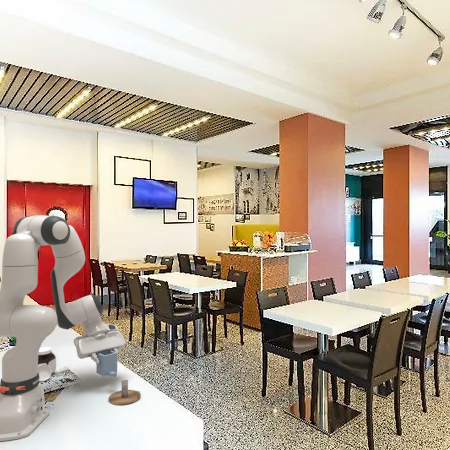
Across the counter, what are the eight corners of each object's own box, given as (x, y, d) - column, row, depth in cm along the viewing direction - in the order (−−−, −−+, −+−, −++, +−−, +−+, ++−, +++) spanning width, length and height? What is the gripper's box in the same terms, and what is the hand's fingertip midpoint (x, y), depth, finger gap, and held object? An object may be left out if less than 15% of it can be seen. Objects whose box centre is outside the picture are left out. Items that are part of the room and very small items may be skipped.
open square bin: (96, 372, 156) (96, 353, 156) (109, 369, 161) (109, 349, 161) (107, 378, 150) (107, 358, 150) (121, 374, 154) (121, 354, 154)
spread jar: (48, 370, 177) (48, 344, 177) (64, 374, 171) (63, 348, 171) (23, 379, 166) (23, 352, 166) (39, 384, 161) (38, 356, 160)
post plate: (102, 398, 148) (102, 381, 148) (130, 388, 156) (130, 372, 156) (118, 408, 139) (118, 390, 139) (146, 397, 148) (146, 380, 148)
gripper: (74, 333, 154) (85, 363, 147) (120, 324, 169) (132, 351, 162) (69, 342, 157) (80, 372, 150) (115, 333, 172) (126, 360, 165)
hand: (107, 361), depth 156 cm, fingers closed on open square bin, 6 cm apart
